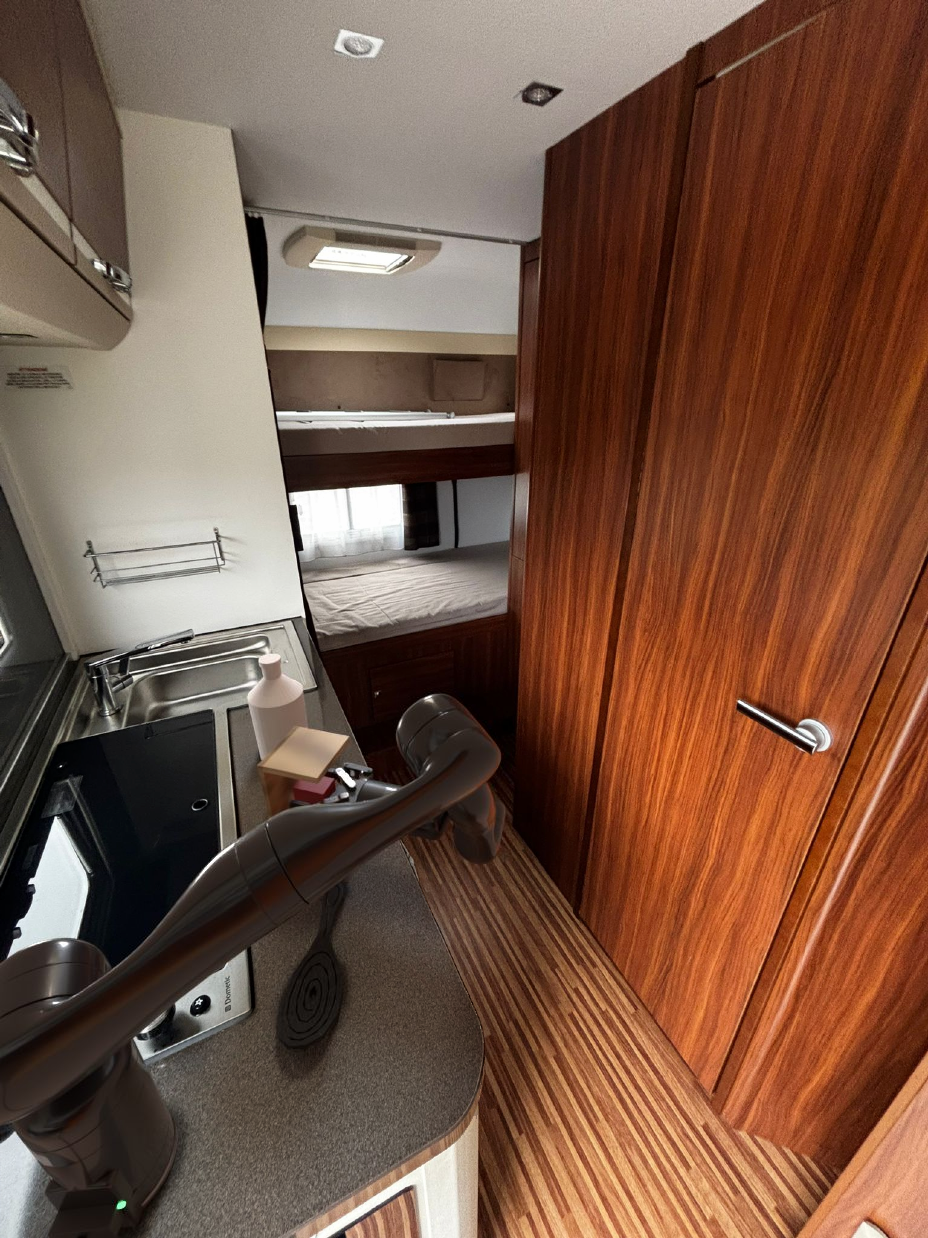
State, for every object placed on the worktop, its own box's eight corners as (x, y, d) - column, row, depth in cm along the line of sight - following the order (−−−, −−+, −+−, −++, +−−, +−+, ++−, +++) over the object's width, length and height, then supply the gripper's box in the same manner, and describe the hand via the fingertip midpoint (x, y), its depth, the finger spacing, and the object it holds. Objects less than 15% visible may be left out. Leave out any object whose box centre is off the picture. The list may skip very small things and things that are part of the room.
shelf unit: (331, 875, 87) (317, 778, 78) (277, 860, 90) (257, 765, 81) (359, 827, 97) (349, 736, 88) (309, 815, 99) (294, 725, 90)
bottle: (257, 741, 120) (238, 651, 110) (307, 729, 125) (294, 642, 114) (261, 772, 110) (241, 677, 100) (315, 758, 115) (301, 665, 105)
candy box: (311, 813, 94) (304, 772, 89) (339, 819, 92) (334, 778, 88) (299, 829, 90) (292, 787, 86) (329, 836, 89) (323, 794, 85)
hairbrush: (360, 871, 85) (329, 1041, 61) (362, 887, 86) (331, 1058, 63) (312, 873, 84) (261, 1043, 61) (314, 888, 86) (266, 1061, 62)
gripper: (402, 762, 89) (322, 746, 93) (368, 822, 76) (277, 801, 80) (404, 794, 92) (326, 777, 96) (371, 856, 80) (283, 834, 83)
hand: (304, 788), depth 88 cm, fingers open, 8 cm apart
